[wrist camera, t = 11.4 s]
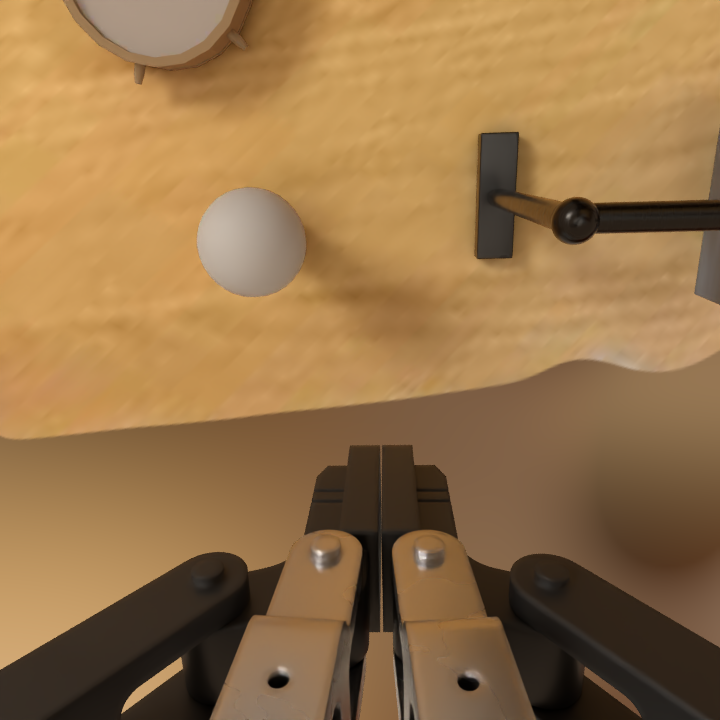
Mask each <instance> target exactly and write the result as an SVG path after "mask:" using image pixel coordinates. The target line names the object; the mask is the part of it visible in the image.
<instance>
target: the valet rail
mask: <svg viewBox="0 0 720 720" xmlns="http://www.w3.org/2000/svg"><path fill="white" fill-rule="evenodd" d="M518 141H519V132H501V133H481V134H479V135H478V165H477V196H476V226H475V257H476V258H477V259H495V258H512V254H513V235H514V216H515V215H516V216H519V217H521V218H524V219H527V220H529V221H532V222H534V223H537V224H539V225H542V226H544V227H547V228H549V229H552V231H553V234H554V235H555V237H556V238H557V239H558V240H560V241H561V242H563V243H566V244H570V245H577V244H581V243H584V242H586V241H588V240H589V239H591V238H592V237H593V236H594V234H601V233H642V232H683V231H720V200H686V201H648V202H611V203H593V202H591V201H590V200H588V199H586V198H582V197H572V198H569V199H566V200H564V201H563V202H561V201H557V200H552V199H547V198H543V197H538V196H533V195H529V194H524V193H519V192H516V179H517V160H518Z"/></svg>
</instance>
